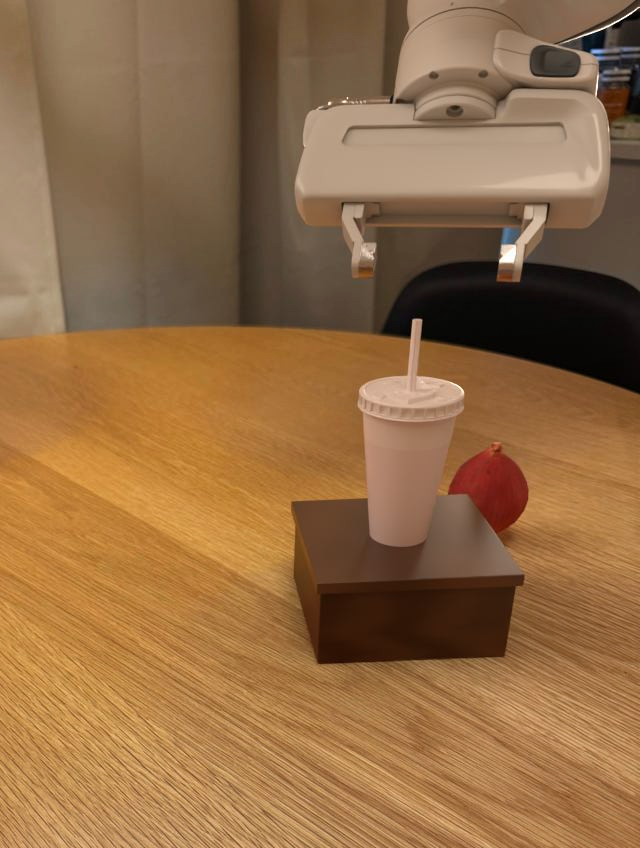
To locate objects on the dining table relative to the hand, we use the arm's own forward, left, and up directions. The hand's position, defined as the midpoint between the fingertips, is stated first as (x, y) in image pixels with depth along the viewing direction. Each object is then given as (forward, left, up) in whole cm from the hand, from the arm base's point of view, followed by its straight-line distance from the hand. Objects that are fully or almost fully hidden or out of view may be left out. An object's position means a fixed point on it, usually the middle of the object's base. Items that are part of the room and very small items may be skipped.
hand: (434, 275), depth 66 cm
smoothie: (+3, +9, -15) cm, 18 cm away
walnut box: (+3, +9, -21) cm, 23 cm away
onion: (-6, -2, -21) cm, 22 cm away
